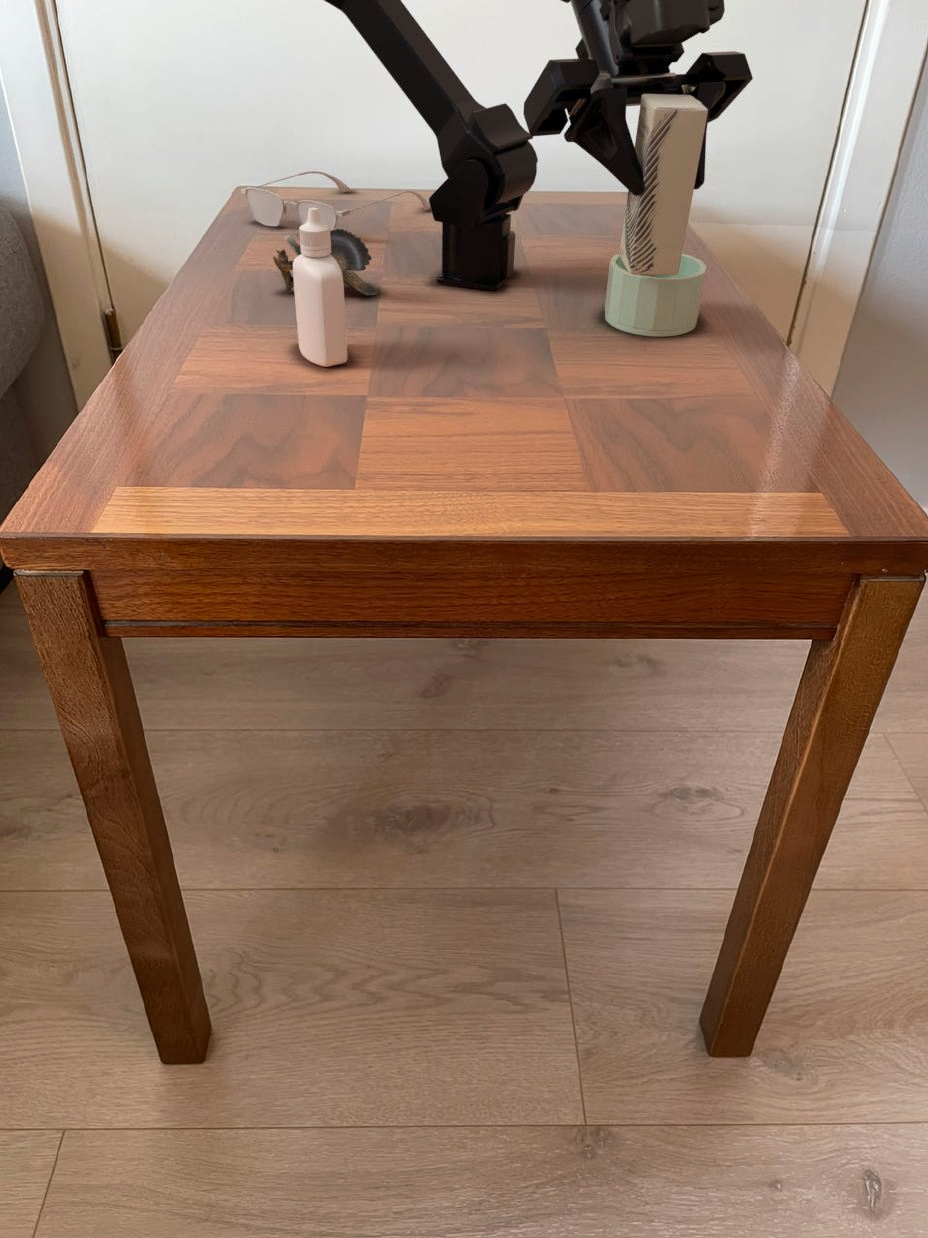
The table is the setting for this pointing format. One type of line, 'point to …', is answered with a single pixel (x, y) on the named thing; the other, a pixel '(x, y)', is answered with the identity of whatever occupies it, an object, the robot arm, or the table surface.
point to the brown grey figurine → (343, 250)
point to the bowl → (655, 299)
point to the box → (663, 183)
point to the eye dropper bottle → (319, 296)
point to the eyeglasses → (300, 204)
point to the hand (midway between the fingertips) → (669, 189)
